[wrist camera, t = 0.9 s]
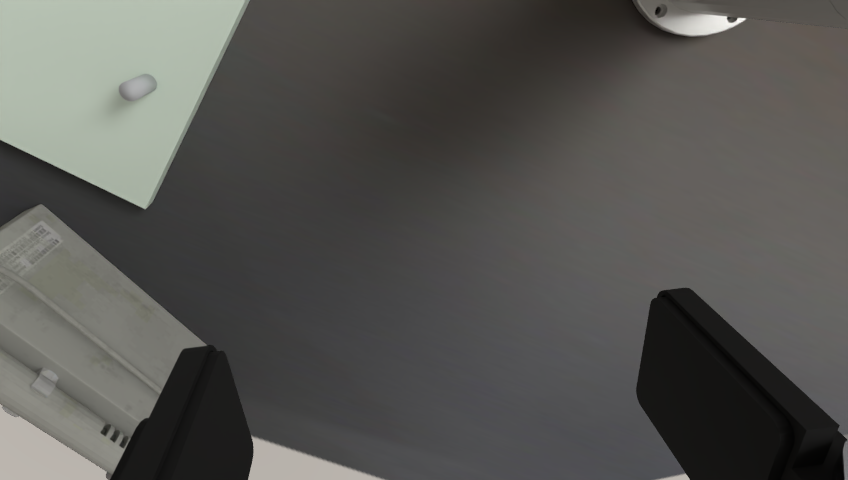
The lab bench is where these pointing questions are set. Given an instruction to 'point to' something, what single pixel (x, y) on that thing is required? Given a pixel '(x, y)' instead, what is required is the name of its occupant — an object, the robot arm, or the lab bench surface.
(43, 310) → the geiger counter
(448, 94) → the lab bench surface
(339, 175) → the lab bench surface
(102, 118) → the pin plate
